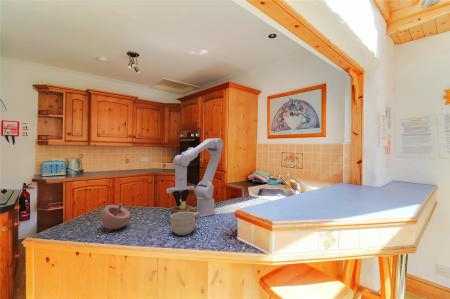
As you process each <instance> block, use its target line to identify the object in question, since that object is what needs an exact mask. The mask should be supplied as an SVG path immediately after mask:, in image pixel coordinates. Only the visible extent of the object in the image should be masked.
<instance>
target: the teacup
mask: <svg viewBox="0 0 450 299" xmlns="http://www.w3.org/2000/svg"><path fill="white" fill-rule="evenodd" d="M197 214H198V215H197ZM195 216H196V221H195ZM169 217H170V228H171V231H172V232H173V233H174V234H176V236H177V235H178V236H186V235H189V234H191V233H192V232H193V231H194V229H195V228H196V224H197V223H199V221H200V220H201V218H202V217H201V215H200V213H199V212H197V211H196V212H195V213H193V212H178V213H174V214H172V215H171V214H170V216H169Z"/></svg>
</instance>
